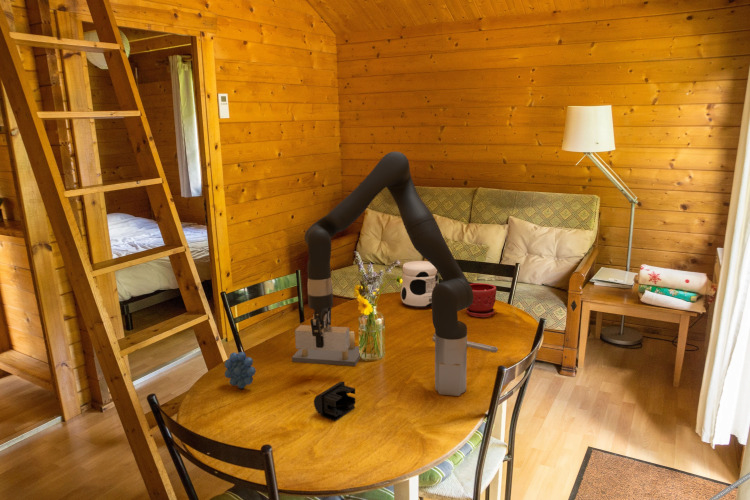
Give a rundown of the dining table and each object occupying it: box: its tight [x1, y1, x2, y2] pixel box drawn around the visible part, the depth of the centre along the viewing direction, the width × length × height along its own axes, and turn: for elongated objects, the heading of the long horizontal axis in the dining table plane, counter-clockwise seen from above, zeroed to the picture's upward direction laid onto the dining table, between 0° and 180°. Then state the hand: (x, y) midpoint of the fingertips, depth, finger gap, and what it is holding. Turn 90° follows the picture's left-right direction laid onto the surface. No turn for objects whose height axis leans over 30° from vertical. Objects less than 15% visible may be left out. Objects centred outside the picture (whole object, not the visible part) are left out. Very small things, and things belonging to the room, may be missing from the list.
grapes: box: [224, 351, 256, 389], centre depth 167 cm, size 12×7×12 cm, turn 63°
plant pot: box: [465, 282, 497, 318], centre depth 228 cm, size 13×13×12 cm
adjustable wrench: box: [432, 333, 499, 353], centre depth 197 cm, size 25×6×2 cm, turn 52°
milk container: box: [400, 260, 439, 309], centre depth 242 cm, size 17×17×18 cm
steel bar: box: [294, 324, 350, 352], centre depth 172 cm, size 5×16×6 cm, turn 78°
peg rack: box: [291, 330, 361, 367], centre depth 189 cm, size 13×22×8 cm, turn 77°
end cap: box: [313, 381, 356, 422], centre depth 152 cm, size 10×7×7 cm
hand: (322, 343), depth 172 cm, fingers closed on steel bar, 5 cm apart
